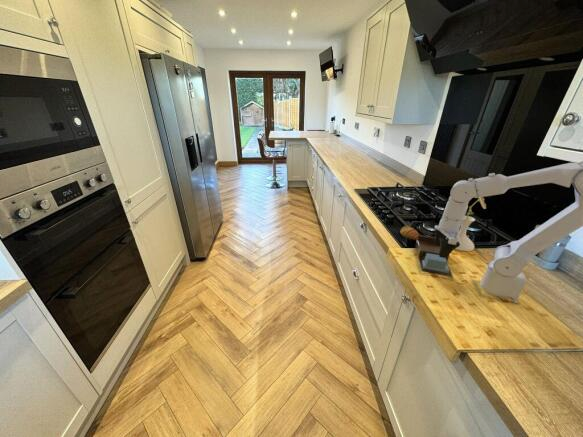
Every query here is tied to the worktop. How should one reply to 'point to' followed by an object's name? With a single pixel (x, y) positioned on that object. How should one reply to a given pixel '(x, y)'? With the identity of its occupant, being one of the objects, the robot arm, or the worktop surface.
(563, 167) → the robot arm
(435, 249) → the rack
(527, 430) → the worktop surface
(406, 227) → the pastry
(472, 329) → the worktop surface
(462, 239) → the flower in vase
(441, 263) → the blue-grey block
